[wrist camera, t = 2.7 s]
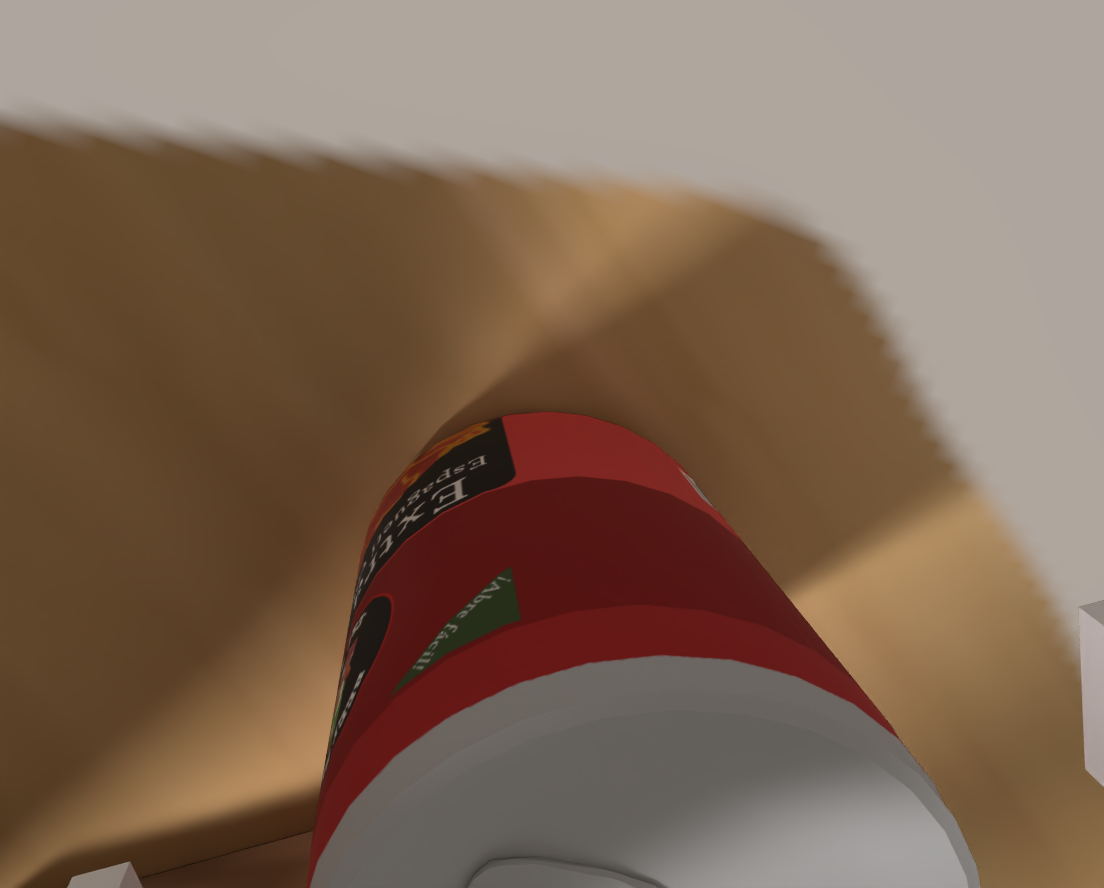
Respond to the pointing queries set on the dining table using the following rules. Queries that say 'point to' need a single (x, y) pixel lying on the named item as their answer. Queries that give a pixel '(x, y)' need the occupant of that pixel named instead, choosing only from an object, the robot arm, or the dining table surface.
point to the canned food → (599, 693)
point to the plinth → (245, 868)
